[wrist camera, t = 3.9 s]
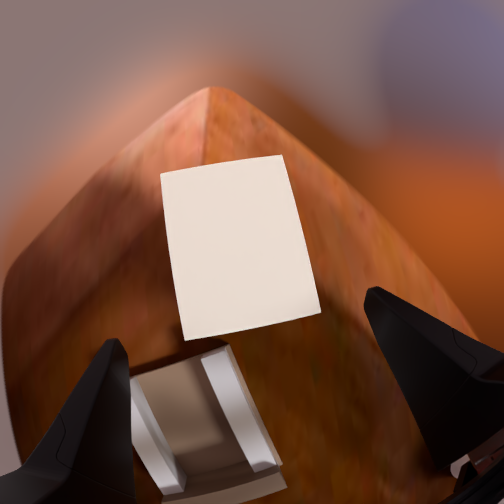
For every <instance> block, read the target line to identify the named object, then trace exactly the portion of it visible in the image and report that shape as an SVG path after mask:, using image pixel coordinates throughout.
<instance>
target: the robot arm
mask: <svg viewBox="0 0 504 504" xmlns="http://www.w3.org/2000/svg"><path fill="white" fill-rule="evenodd" d="M364 310H365V313H366V315H367V318H368V320H369V323H370V325H371V328H372V330H373V333H374V335H375V338H376V340H377V342H378V345H379V347H380V349H381V351H382V352H383V354H384V356H385V358H386V360H387V362H388V364H389V366H390V368H391V370H392V372H393V374H394V376H395V378H396V380H397V382H398V384H399V386H400V388H401V390H402V392H403V394H404V397H405V399H406V401H407V403H408V405H409V407H410V409H411V411H412V414H413V416H414V418H415V420H416V422H417V425H418V427H419V429H421V430H420V432H421V434H422V436H423V438H424V441H425V443H426V445H427V448H428V450H429V452H430V455H431V457H432V460H433V462H434V465H435V467H436V469H437V471H438V472H439V471H440V470H442V469H444V468H446V467H447V466H449V465H451V464H452V463H454V462H456V461H457V460H459V459H460V458H462V457H463V456H465V455H468V457H469V459H470V460H469V461H467V462H466V463H465V464H463V465H462V466H461V469H460V472H459V475H458V479H457V482H456V485H455V488H454V491H453V492H454V493H453V494H452V495H450V496H449V497H447V498H446V499H444V500H443V501H441V502H440V503H438V504H504V353H502V352H500V351H497V350H496V349H493V348H491V347H489V346H487V345H485V344H483V343H481V342H479V341H477V340H475V339H473V338H470V337H469V336H467V335H465V334H463V333H461V332H460V331H458V330H456V329H454V328H452V327H451V326H449V325H447V324H445V323H444V322H442V321H440V320H438V319H437V318H435V317H433V316H431V315H430V314H428V313H426V312H424V311H422V310H421V309H419V308H417V307H415V306H414V305H412V304H410V303H408V302H406V301H404V300H403V299H401V298H399V297H397V296H395V295H394V294H392V293H390V292H388V291H386V290H384V289H383V288H381V287H379V286H375V287H372V288H369V289H368V290H367V293H366V297H365V301H364ZM0 504H137V502H136V495H135V484H134V472H133V457H132V432H131V388H130V377H129V364H128V355H127V352H126V351H125V349H124V347H123V346H122V344H121V342H120V341H119V339H117V338H113V339H107V340H106V341H105V343H104V344H103V345H102V347H101V348H100V350H99V351H98V353H97V354H96V356H95V357H94V359H93V360H92V362H91V363H90V365H89V366H88V368H87V369H86V371H85V372H84V374H83V375H82V377H81V378H80V380H79V381H78V383H77V384H76V386H75V388H74V389H73V391H72V392H71V394H70V395H69V397H68V399H67V400H66V402H65V403H64V405H63V407H62V408H61V410H60V413H58V415H57V416H56V418H55V420H54V421H53V423H52V424H51V426H50V428H49V429H48V431H47V432H46V434H45V435H44V437H43V438H42V440H41V441H40V442H39V444H38V445H37V446H36V448H35V449H34V451H33V452H32V454H31V455H30V456H29V458H28V459H27V461H26V462H25V463H24V464H23V465H22V466H21V467H20V468H19V469H17V470H15V471H13V472H11V473H8V474H6V475H3V476H1V477H0Z"/></svg>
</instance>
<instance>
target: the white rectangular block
mask: <svg viewBox="0 0 504 504" xmlns="http://www.w3.org/2000/svg"><path fill="white" fill-rule="evenodd" d="M160 175H161V186H162V196H163V206H164V215H165V223H166V231H167V239H168V246H169V253H170V260H171V267H172V273H173V279H174V285H175V291H176V297H177V303H178V308H179V314H180V319H181V324H182V329H183V334H184V339H185V341H186V340H192V339H198V338H204V337H210V336H215V335H221V334H226V333H231V332H237V331H242V330H247V329H251V328H256V327H261V326H266V325H270V324H275V323H279V322H284V321H288V320H292V319H297V318H301V317H305V316H309V315H313V314H317V313H321V309H320V305H319V300H318V295H317V291H316V286H315V282H314V277H313V273H312V269H311V264H310V260H309V256H308V252H307V248H306V244H305V239H304V235H303V231H302V227H301V223H300V219H299V216H298V212H297V208H296V204H295V200H294V197H293V193H292V189H291V185H290V182H289V178H288V175H287V171H286V168H285V164H284V161H283V157H282V155H276V156H268V157H259V158H251V159H244V160H237V161H230V162H223V163H217V164H211V165H205V166H199V167H193V168H188V169H182V170H177V171H172V172H167V173H162V174H160Z"/></svg>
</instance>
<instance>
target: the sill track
mask: <svg viewBox="0 0 504 504" xmlns="http://www.w3.org/2000/svg"><path fill="white" fill-rule="evenodd" d="M130 388H131V432H132V444H133V445H134V447H135V449H136V451H137V453H138V454H139V456H140V458H141V460H142V461H143V463H144V465H145V466H146V468H147V470H148V471H149V473H150V475H151V476H152V478H153V479H154V481H155V482H156V484H157V486H158V487H159V489H160V490H161V492H162V493H163V495H164V496H163V499H162V502H161V503H162V504H238V503H242V502H245V501H249V500H252V499H255V498H259V497H262V496H265V495H268V494H271V493H273V492H276V491H279V490H282V489H285V488H287V485H286V483H285V480H284V478H283V475H282V473H281V470H280V467H279V466H280V465H282V461H281V459H280V457H279V455H278V453H277V451H276V449H275V447H274V445H273V442H272V440H271V438H270V436H269V434H268V432H267V430H266V428H265V425H264V423H263V421H262V419H261V417H260V414H259V412H258V410H257V408H256V406H255V403H254V401H253V399H252V397H251V394H250V392H249V390H248V387H247V385H246V383H245V381H244V378H243V376H242V374H241V371H240V369H239V366H238V364H237V362H236V359H235V357H234V354H233V352H232V350H231V347H230V345H229V344H227V345H224V346H222V347H219V348H216V349H213V350H211V351H208V352H205V353H202V354H199V355H197V356H194V357H191V358H188V359H185V360H182V361H179V362H176V363H173V364H170V365H167V366H164V367H161V368H158V369H154V370H151V371H148V372H145V373H141V374H138V375H135V376H131V377H130Z"/></svg>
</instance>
